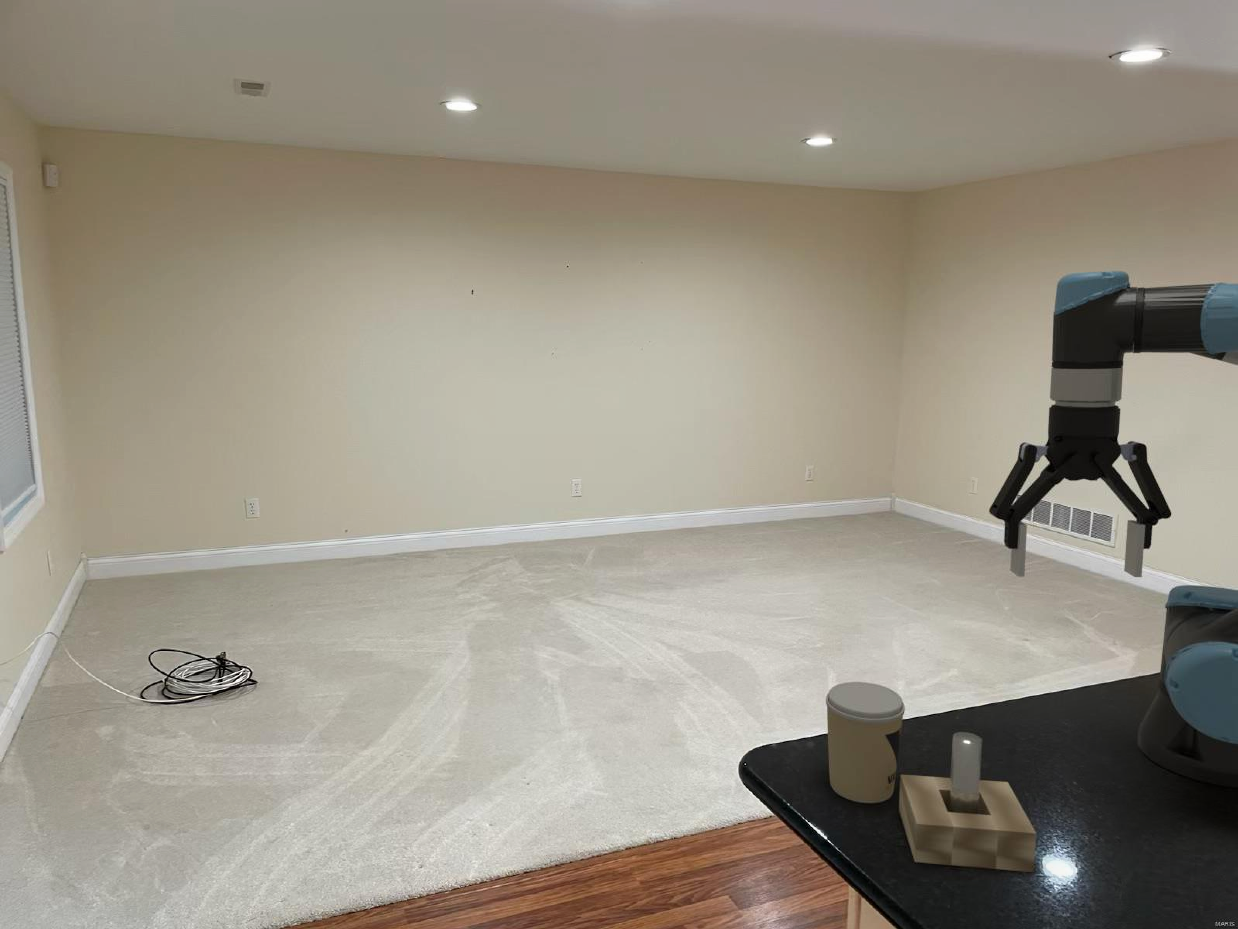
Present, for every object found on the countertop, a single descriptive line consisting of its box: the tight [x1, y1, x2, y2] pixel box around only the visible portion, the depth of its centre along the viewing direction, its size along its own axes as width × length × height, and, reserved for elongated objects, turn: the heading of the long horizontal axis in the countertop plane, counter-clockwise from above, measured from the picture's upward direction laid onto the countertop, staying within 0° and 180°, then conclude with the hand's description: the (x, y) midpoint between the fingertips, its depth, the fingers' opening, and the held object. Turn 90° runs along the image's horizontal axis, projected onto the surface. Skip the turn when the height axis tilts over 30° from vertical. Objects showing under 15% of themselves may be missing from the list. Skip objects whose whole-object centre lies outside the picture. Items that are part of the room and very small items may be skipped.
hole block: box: [898, 774, 1037, 873], centre depth 93 cm, size 12×10×4 cm
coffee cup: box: [825, 681, 906, 804], centre depth 103 cm, size 9×9×12 cm
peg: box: [949, 731, 983, 814], centre depth 92 cm, size 3×3×12 cm
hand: (1074, 574), depth 103 cm, fingers open, 13 cm apart
